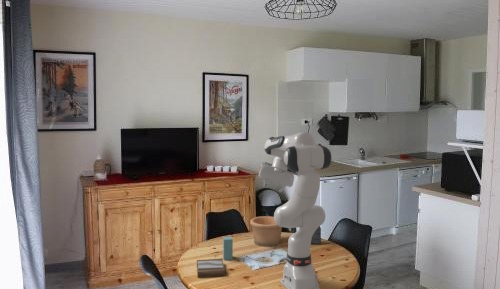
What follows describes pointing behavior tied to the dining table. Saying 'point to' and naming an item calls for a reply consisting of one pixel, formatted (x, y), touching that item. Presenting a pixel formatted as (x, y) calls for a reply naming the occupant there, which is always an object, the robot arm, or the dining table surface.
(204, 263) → the base plinth
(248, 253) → the dining table surface
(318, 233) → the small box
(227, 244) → the teal block
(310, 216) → the robot arm
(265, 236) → the pottery
